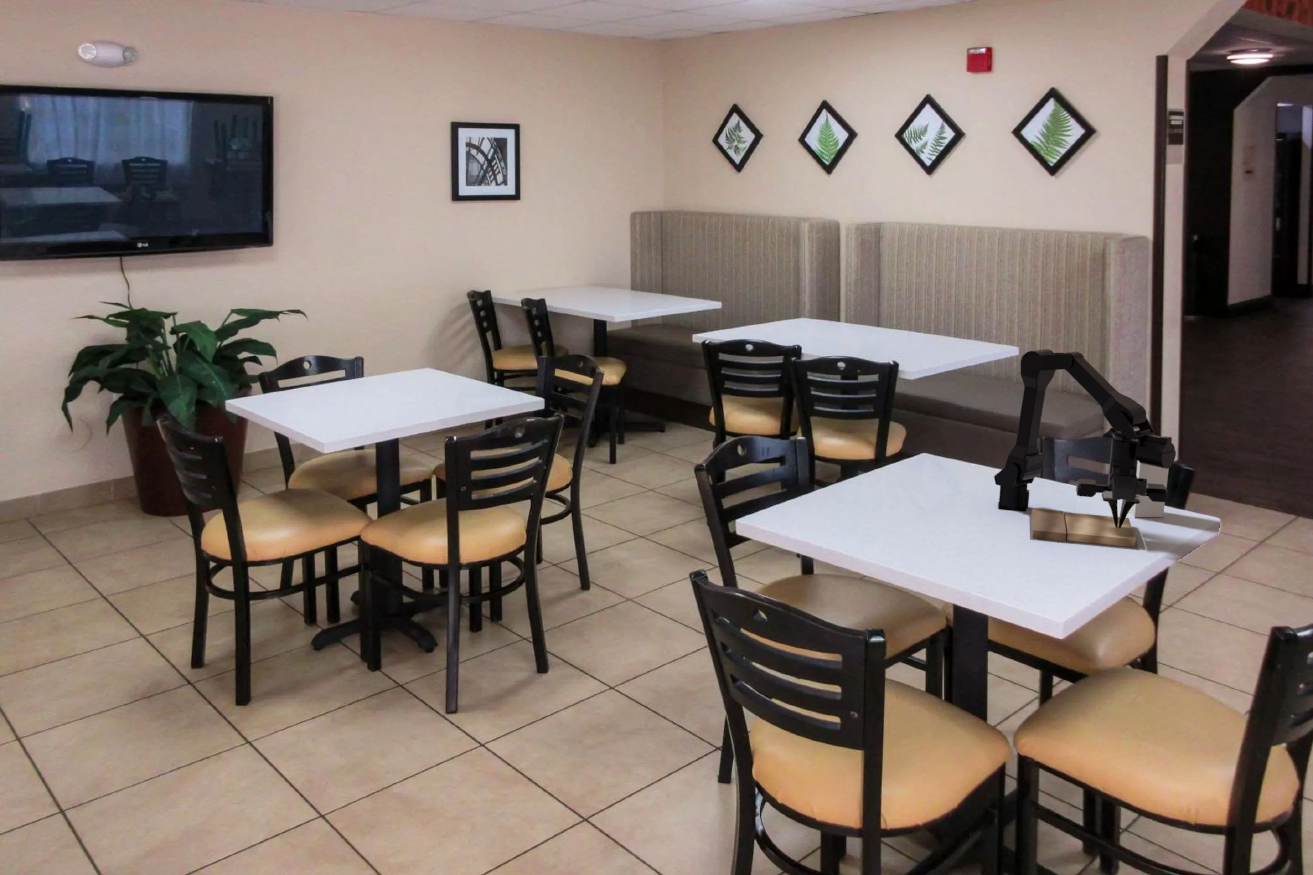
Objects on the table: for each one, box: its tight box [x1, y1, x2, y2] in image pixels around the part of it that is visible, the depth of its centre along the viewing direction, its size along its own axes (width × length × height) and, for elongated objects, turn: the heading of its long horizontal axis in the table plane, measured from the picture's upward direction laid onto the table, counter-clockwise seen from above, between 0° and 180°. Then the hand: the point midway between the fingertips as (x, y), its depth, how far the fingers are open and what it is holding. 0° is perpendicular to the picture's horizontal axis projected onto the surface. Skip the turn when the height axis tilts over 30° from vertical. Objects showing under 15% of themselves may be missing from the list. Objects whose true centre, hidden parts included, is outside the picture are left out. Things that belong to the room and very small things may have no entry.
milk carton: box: [1120, 460, 1170, 518], centre depth 269 cm, size 7×7×19 cm
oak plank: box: [1064, 511, 1137, 547], centre depth 254 cm, size 14×17×2 cm
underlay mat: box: [1028, 514, 1140, 551], centre depth 255 cm, size 22×20×1 cm
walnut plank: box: [1031, 508, 1066, 542], centre depth 257 cm, size 7×18×2 cm, turn 163°
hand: (1117, 527), depth 252 cm, fingers closed, pressing on oak plank
